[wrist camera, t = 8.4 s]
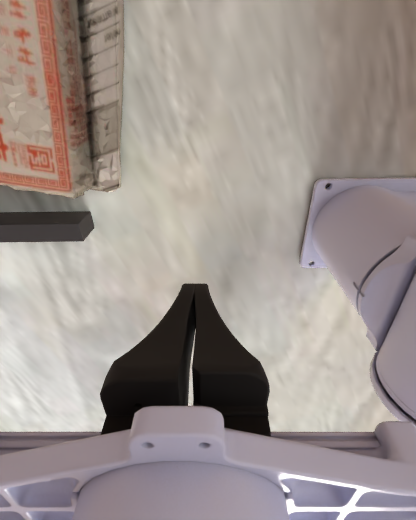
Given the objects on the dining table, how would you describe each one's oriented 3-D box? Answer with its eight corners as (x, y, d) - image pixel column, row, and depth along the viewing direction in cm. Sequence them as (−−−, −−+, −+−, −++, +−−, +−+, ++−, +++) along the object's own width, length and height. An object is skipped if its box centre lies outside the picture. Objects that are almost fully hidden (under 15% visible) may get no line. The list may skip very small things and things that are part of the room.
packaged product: (106, 212, 18) (-59, 188, 17) (125, 189, 22) (-7, 169, 21) (84, -342, 8) (-290, -456, 7) (126, -199, 12) (-113, -263, 12)
